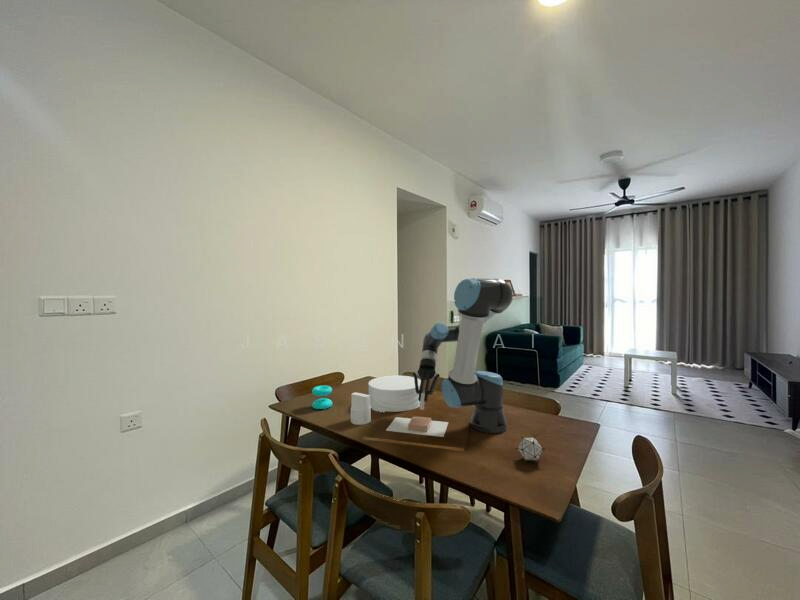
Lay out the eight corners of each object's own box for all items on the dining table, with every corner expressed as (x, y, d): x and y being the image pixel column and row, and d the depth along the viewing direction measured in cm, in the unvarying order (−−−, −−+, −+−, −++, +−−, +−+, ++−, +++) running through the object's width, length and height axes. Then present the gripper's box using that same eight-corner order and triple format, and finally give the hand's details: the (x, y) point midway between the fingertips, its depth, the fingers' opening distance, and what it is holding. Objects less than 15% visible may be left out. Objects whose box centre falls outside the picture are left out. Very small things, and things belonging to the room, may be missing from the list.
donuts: (308, 387, 168) (324, 383, 175) (308, 407, 168) (325, 402, 175) (319, 391, 161) (336, 387, 168) (319, 412, 161) (336, 406, 168)
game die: (531, 468, 115) (542, 441, 118) (541, 472, 107) (553, 443, 110) (508, 454, 117) (519, 427, 120) (516, 456, 109) (528, 428, 112)
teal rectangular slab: (431, 417, 143) (427, 426, 134) (431, 423, 143) (427, 432, 134) (413, 416, 145) (408, 424, 137) (413, 421, 145) (408, 430, 137)
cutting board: (448, 424, 144) (448, 422, 144) (443, 439, 130) (443, 436, 130) (395, 419, 151) (395, 417, 151) (385, 432, 136) (385, 430, 136)
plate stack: (405, 418, 153) (404, 393, 153) (357, 407, 167) (357, 385, 167) (431, 400, 177) (431, 379, 176) (388, 392, 191) (387, 373, 191)
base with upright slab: (374, 419, 151) (374, 393, 151) (361, 426, 143) (361, 399, 143) (359, 415, 156) (359, 390, 156) (346, 421, 148) (346, 395, 148)
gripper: (442, 366, 159) (437, 413, 144) (416, 365, 163) (408, 410, 147) (440, 358, 154) (435, 405, 138) (413, 357, 157) (405, 403, 142)
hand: (421, 408), depth 143 cm, fingers closed
